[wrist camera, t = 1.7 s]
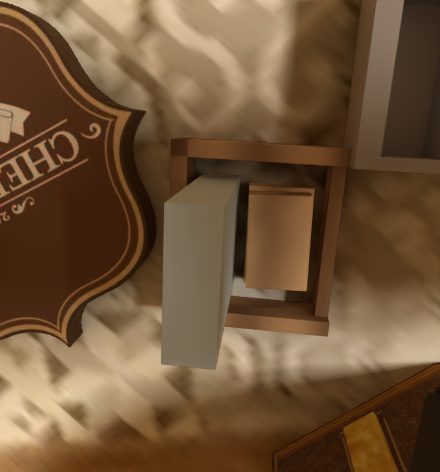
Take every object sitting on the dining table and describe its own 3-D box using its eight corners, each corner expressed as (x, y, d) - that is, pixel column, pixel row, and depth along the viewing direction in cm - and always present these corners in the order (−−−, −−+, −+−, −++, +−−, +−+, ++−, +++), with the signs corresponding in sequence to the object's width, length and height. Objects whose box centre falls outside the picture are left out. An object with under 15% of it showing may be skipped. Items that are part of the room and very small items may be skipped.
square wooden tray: (343, 147, 32) (352, 149, 29) (321, 317, 36) (327, 336, 33) (180, 137, 34) (171, 139, 30) (176, 303, 37) (167, 320, 34)
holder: (468, -5, 29) (508, -32, 24) (436, 168, 32) (466, 175, 27) (362, -8, 30) (381, -34, 25) (341, 162, 33) (354, 168, 28)
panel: (240, 175, 34) (224, 207, 20) (233, 279, 36) (215, 370, 23) (204, 173, 34) (164, 202, 21) (199, 276, 36) (161, 364, 23)
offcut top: (310, 192, 32) (313, 196, 30) (303, 281, 34) (306, 291, 32) (250, 190, 32) (249, 194, 30) (247, 278, 34) (245, 287, 32)
